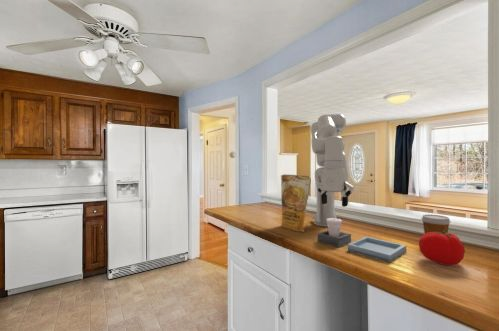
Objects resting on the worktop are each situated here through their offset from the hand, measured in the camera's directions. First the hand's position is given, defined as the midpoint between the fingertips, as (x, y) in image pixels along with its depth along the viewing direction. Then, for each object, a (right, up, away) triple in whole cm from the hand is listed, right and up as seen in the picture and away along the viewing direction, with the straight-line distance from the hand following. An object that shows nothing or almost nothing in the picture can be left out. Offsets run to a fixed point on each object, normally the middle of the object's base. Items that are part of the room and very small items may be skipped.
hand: (334, 204), depth 107 cm
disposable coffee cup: (+39, -16, -6) cm, 43 cm away
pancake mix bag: (-13, -16, +23) cm, 31 cm away
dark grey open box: (0, -16, +1) cm, 16 cm away
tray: (+13, -16, -11) cm, 23 cm away
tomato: (+29, -16, -22) cm, 40 cm away
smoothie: (0, -16, +1) cm, 16 cm away
